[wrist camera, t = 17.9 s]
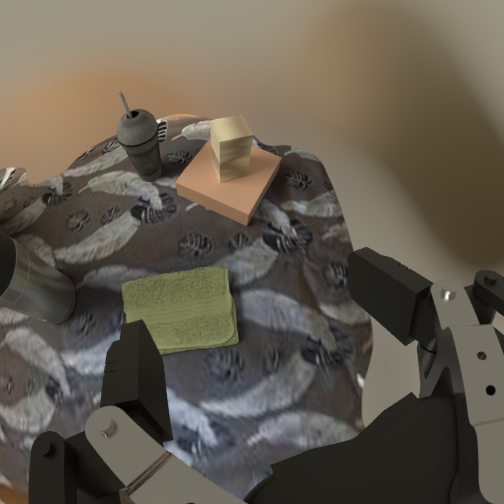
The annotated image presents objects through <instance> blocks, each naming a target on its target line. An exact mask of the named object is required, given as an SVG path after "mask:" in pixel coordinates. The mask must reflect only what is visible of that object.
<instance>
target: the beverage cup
mask: <svg viewBox="0 0 504 504" xmlns="http://www.w3.org/2000/svg"><path fill="white" fill-rule="evenodd" d="M119 95H120V97H121V100H122V102H123V105H124V107H125V109H126V112H127V113H126V114H125V115H124V116H123V117H122V118H121V120H120V122H119V124H118V128H117V136H118V142H119V143H120V144H121V146H122V147H123V148H124V150H126V152H127V154H128V156H129V158H130V160H131V162H132V163H133V165H134V167H135V169H136V171H137V173H138V174H139V176H140V177H141V179H142V180H143V181H146V182H151V181H154V180H156V179H158V178H159V177H160V175H161V173H162V168H161V158H160V150H159V142H158V130H159V125H158V123H157V121H156V120H155V118H154V116H153V115H152V114H151V113H149V112H148V111H146V110H142V109H135V110H132V111H130V110H129V108H128V105H127V103H126V101H125V98H124V96H123V93H122V92H119Z"/></svg>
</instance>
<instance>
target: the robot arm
mask: <svg viewBox="0 0 504 504" xmlns="http://www.w3.org/2000/svg"><path fill="white" fill-rule="evenodd" d="M348 290H349V293H350V295H351V297H352V299H353V300H354V301H355V302H356V303H357V304H359V305H360V306H361V307H362V308H363V309H364V310H365V311H367V312H368V313H369V314H370V315H371V316H372V317H373V318H374V319H376V320H377V321H378V322H379V323H380V324H381V325H382V326H383V327H385V328H386V329H387V330H388V331H389V332H390V333H391V334H392V335H394V336H395V337H396V338H397V339H398V340H399V341H400V342H402V344H404V345H405V346H407V345H408V344H410V343H411V342H413V341H414V340H417V341H418V345H417V354H418V362H419V373H420V394H419V398H417V397H416V396H415V395H414V394H413V393H412V392H411V393H409V394H408V395H407V396H405V397H404V398H402V399H401V400H399V401H398V402H396V403H395V404H393V405H392V406H390V407H389V408H387V409H386V410H384V411H383V412H382V413H381V414H380V415H379V416H378V417H377V418H376V419H375V420H374V421H373V422H372V423H371V424H370V425H368V426H367V427H366V428H365V429H364V430H363V431H362V432H361V433H360V434H359V435H358V436H356V437H355V438H353V439H351V440H348V441H344V442H340V443H336V444H332V445H328V446H324V447H319V448H315V449H310V450H308V451H305V452H303V453H301V454H298V455H296V456H293V457H291V458H288V459H285V460H283V461H280V462H277V463H275V464H272V465H270V466H271V468H272V470H273V474H271V475H269V476H268V477H266V478H265V479H264V480H262V481H261V482H260V483H258V484H257V485H256V486H255V487H254V488H253V489H252V490H251V491H250V492H249V493H248V495H247V496H246V497H245V498H244V500H243V501H242V500H240V499H238V498H237V497H235V496H233V495H232V494H230V493H228V492H227V491H225V490H223V489H222V488H220V487H219V486H217V485H215V484H214V483H212V482H211V481H209V480H208V479H206V478H205V477H203V476H202V475H201V474H199V473H198V472H196V471H195V470H193V469H192V468H191V467H189V466H188V465H187V464H185V463H184V462H183V461H181V460H180V459H179V458H177V457H176V456H175V455H173V454H172V453H171V452H168V451H167V450H165V449H164V446H163V442H166V441H171V440H173V436H172V429H171V423H170V416H169V408H168V400H167V392H166V383H165V373H164V364H163V360H162V357H161V354H160V352H159V350H158V348H157V346H156V344H155V342H154V340H153V338H152V336H151V334H150V332H149V330H148V328H147V326H146V324H145V322H144V321H143V320H142V319H141V320H137V321H133V322H130V323H126V324H123V325H122V328H121V335H120V340H118V341H114V342H113V343H112V345H111V347H110V348H109V350H108V352H107V355H106V362H105V364H106V366H105V369H104V374H105V375H104V376H103V385H102V394H101V404H100V409H98V410H96V411H95V412H94V413H93V414H92V415H91V416H90V417H89V419H88V420H87V423H86V426H85V431H83V432H81V433H79V434H76V435H74V436H72V437H69V438H67V439H64V438H63V437H61V436H60V435H59V434H58V433H56V432H53V431H47V432H44V433H42V434H40V435H39V436H38V437H37V438H36V440H35V441H34V443H33V445H32V449H31V458H30V471H29V504H121V503H120V497H119V490H120V489H123V488H125V487H127V488H128V489H127V490H126V492H127V494H128V496H129V497H130V498H131V499H132V500H133V501H134V502H135V503H136V504H504V335H503V334H502V333H501V332H499V331H498V330H497V329H496V328H494V327H493V326H492V325H491V324H492V321H493V319H494V316H495V313H496V311H498V312H499V313H500V314H501V315H503V316H504V277H502V276H501V275H499V274H498V273H496V272H494V271H490V270H481V271H479V272H477V273H476V275H475V279H474V284H473V285H470V286H466V287H462V286H461V285H459V284H458V283H456V282H452V281H447V280H446V281H445V280H443V281H438V282H436V283H432V282H431V281H429V280H428V279H426V278H424V277H423V276H421V275H419V274H418V273H416V272H415V271H413V270H411V269H408V267H406V266H405V265H403V264H402V265H401V263H400V262H398V261H396V260H394V259H393V258H390V257H387V256H383V255H380V254H378V253H377V252H375V251H373V250H372V249H370V248H368V247H365V248H362V249H359V250H356V251H354V252H351V253H350V254H349V255H348ZM75 303H76V290H75V287H74V284H73V282H72V281H71V280H70V278H68V277H67V276H66V275H64V274H63V273H61V272H60V271H58V270H57V269H55V268H54V267H52V266H51V265H49V264H48V263H46V262H45V261H43V260H42V259H41V258H39V257H38V256H36V255H35V254H33V253H32V252H31V251H29V250H28V249H27V248H25V247H24V246H22V245H21V244H20V243H18V242H17V241H16V240H14V239H13V238H12V237H10V236H9V235H8V234H7V233H5V232H4V231H3V230H2V229H1V228H0V306H3V307H5V308H8V309H11V310H13V311H16V312H19V313H22V314H24V315H27V316H30V317H33V318H36V319H39V320H42V321H45V322H48V323H52V324H60V323H63V322H64V321H66V320H67V319H68V318H69V317H70V315H71V314H72V312H73V310H74V307H75ZM77 493H78V498H77Z"/></svg>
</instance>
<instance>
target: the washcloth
mask: <svg viewBox="0 0 504 504" xmlns="http://www.w3.org/2000/svg"><path fill="white" fill-rule="evenodd" d="M121 291H122V299H123V301H124V303H123V304H124V312H125V313H126V319H127V323H130V322H133V321H137V320H141V319H142V320H143V321H144V322H145V324H146V326H147V328H148V330H149V332H150V334H151V336H152V338H153V340H154V342H155V344H156V346H157V348H158V350H159V352H160V354H161V355H163V354H168V353H175V352H179V351H186V350H195V349H198V348H199V349H200V348H204V349H206V348H215V347H221V346H228V345H234V344H237V343H238V341H239V339H238V331H237V322H236V321H237V320H236V309H235V304H234V300H233V298H232V296H231V294H230V290H229V281H228V269H227V268H223V267H219V266H218V267H216V266H215V267H214V266H209V267H202V268H196V269H194V270H187V271H180V272H179V271H178V272H174V273H172V272H171V273H169V274H168V273H163V274H160V275H156V276H154V275H150V276H148V277H147V276H144V277H143V278H139V279H136V280H131V281H128V282H124V283H123V285H121Z"/></svg>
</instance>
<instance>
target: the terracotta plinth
mask: <svg viewBox="0 0 504 504" xmlns="http://www.w3.org/2000/svg"><path fill="white" fill-rule="evenodd" d="M281 159H282V158H281V157H279V156H276V155H274V154H272V153H269V152H267V151H264V150H262V149H259V148H257V147H254V146H252V147H251V154H250V162H249V170H248V176H245V177H241V178H237V179H233V180H229V181H225V182H221V183H220V182H219V179H218V176H217V174H216V171H215V169H214V166H213V163H212V152H211V138H210V139H209V140H208V142H207V143H206V144H205V145H204V146H203V148H202V149H201V150H200V151H199V152H198V154H197V155H196V156H195V157H194V159H193V160H192V161H191V162H190V164H189V165H188V166H187V167H186V169H185V170H184V171H183V172H182V174H181V175H180V176H179V178H178V179H177V180H176V182H175V184H176V188H177V192H178V195H180V196H182V197H184V198H186V199H188V200H191V201H193V202H195V203H197V204H199V205H202V206H204V207H206V208H208V209H210V210H213V211H215V212H217V213H219V214H221V215H223V216H226V217H228V218H230V219H232V220H234V221H236V222H239V223H241V224H243V225H245V226H247V225H248V223H249V221H250V220H251V218H252V216H253V214H254V213H255V211H256V209H257V207H258V205H259V204H260V202H261V200H262V198H263V197H264V195H265V193H266V191H267V190H268V188H269V186H270V184H271V183H272V181H273V179H274V177H275V176H276V174H277V172H278V170H279V166H280V163H281Z"/></svg>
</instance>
